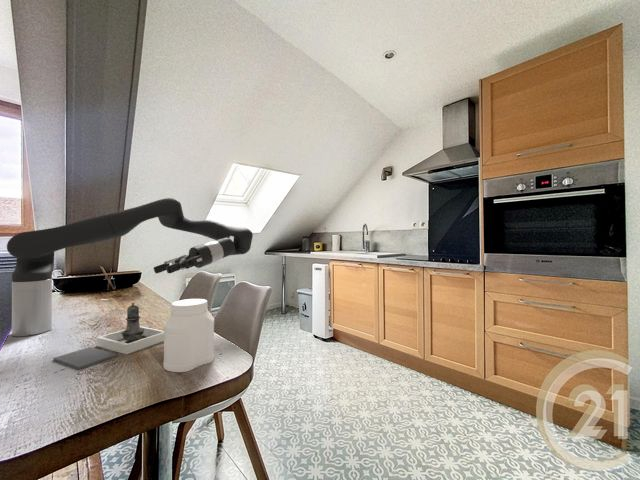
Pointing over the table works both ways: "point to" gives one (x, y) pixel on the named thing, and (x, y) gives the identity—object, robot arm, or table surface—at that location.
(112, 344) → the frame
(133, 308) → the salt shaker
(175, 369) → the jar
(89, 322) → the table surface
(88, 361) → the rubber mat
